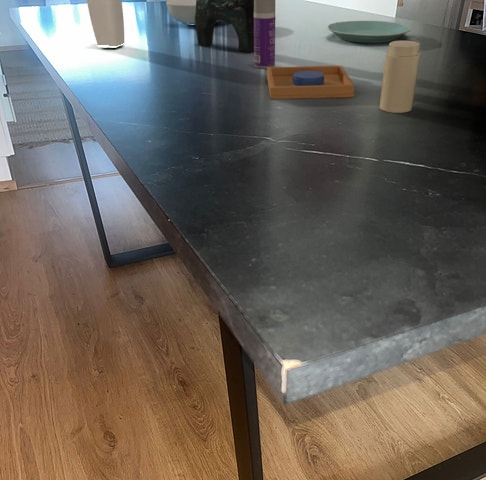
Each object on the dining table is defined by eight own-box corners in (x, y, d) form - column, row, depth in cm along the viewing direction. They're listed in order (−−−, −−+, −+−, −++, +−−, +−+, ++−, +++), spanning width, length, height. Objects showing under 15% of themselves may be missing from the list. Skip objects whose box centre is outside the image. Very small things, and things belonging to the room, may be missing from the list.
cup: (92, 49, 139) (81, -15, 130) (106, 44, 144) (96, -19, 135) (117, 50, 137) (107, -15, 128) (130, 45, 142) (121, -19, 134)
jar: (407, 102, 95) (417, 39, 89) (415, 112, 90) (426, 46, 84) (376, 103, 95) (384, 40, 89) (382, 113, 90) (391, 47, 84)
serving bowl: (163, 21, 173) (160, -3, 169) (224, 16, 177) (223, -7, 173) (175, 32, 156) (173, 6, 152) (242, 26, 161) (242, 1, 157)
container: (273, 68, 117) (274, -8, 109) (252, 68, 118) (252, -8, 109) (275, 63, 121) (276, -11, 112) (255, 63, 122) (255, -11, 113)
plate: (369, 27, 155) (370, 16, 154) (427, 39, 140) (429, 27, 138) (309, 36, 146) (310, 25, 144) (365, 50, 130) (366, 38, 129)
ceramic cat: (265, 50, 133) (265, -43, 121) (249, 55, 129) (247, -41, 117) (207, 42, 143) (202, -45, 132) (190, 46, 139) (184, -43, 128)
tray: (340, 75, 111) (341, 65, 110) (353, 97, 98) (354, 85, 97) (267, 77, 111) (267, 67, 110) (270, 99, 99) (270, 87, 97)
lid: (288, 86, 103) (288, 76, 102) (299, 78, 108) (299, 69, 107) (317, 89, 101) (318, 79, 100) (327, 81, 106) (328, 71, 105)
